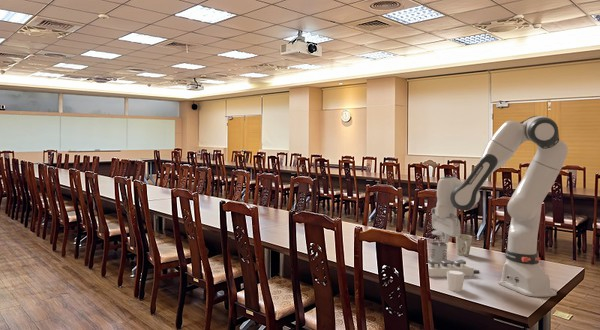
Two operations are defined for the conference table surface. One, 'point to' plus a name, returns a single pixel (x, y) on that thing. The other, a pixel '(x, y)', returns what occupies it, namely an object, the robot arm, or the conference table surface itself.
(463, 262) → the rocker
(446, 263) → the plate
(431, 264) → the block
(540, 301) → the conference table surface
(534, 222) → the robot arm
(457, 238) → the mug
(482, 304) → the conference table surface
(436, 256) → the french press
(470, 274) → the rocker switch panel
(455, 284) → the shot glass
